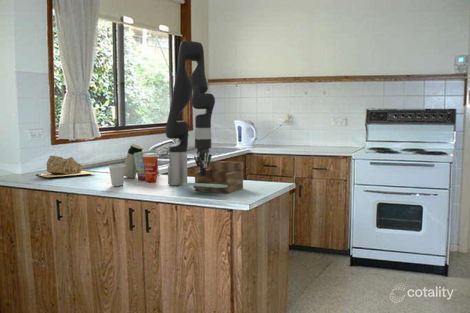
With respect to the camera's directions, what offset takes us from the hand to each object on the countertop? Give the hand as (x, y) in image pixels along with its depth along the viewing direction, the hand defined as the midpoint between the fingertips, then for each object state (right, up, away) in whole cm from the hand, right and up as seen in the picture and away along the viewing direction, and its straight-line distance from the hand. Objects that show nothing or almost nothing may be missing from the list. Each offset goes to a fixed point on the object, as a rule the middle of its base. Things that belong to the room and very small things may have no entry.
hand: (203, 175), depth 228 cm
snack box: (-34, -3, +57) cm, 66 cm away
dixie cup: (-46, -6, +31) cm, 56 cm away
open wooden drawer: (+7, -7, +15) cm, 18 cm away
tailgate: (+3, -5, +6) cm, 9 cm away
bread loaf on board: (-84, -7, +67) cm, 108 cm away
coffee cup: (-31, -5, +44) cm, 54 cm away
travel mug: (-46, -2, +56) cm, 73 cm away
